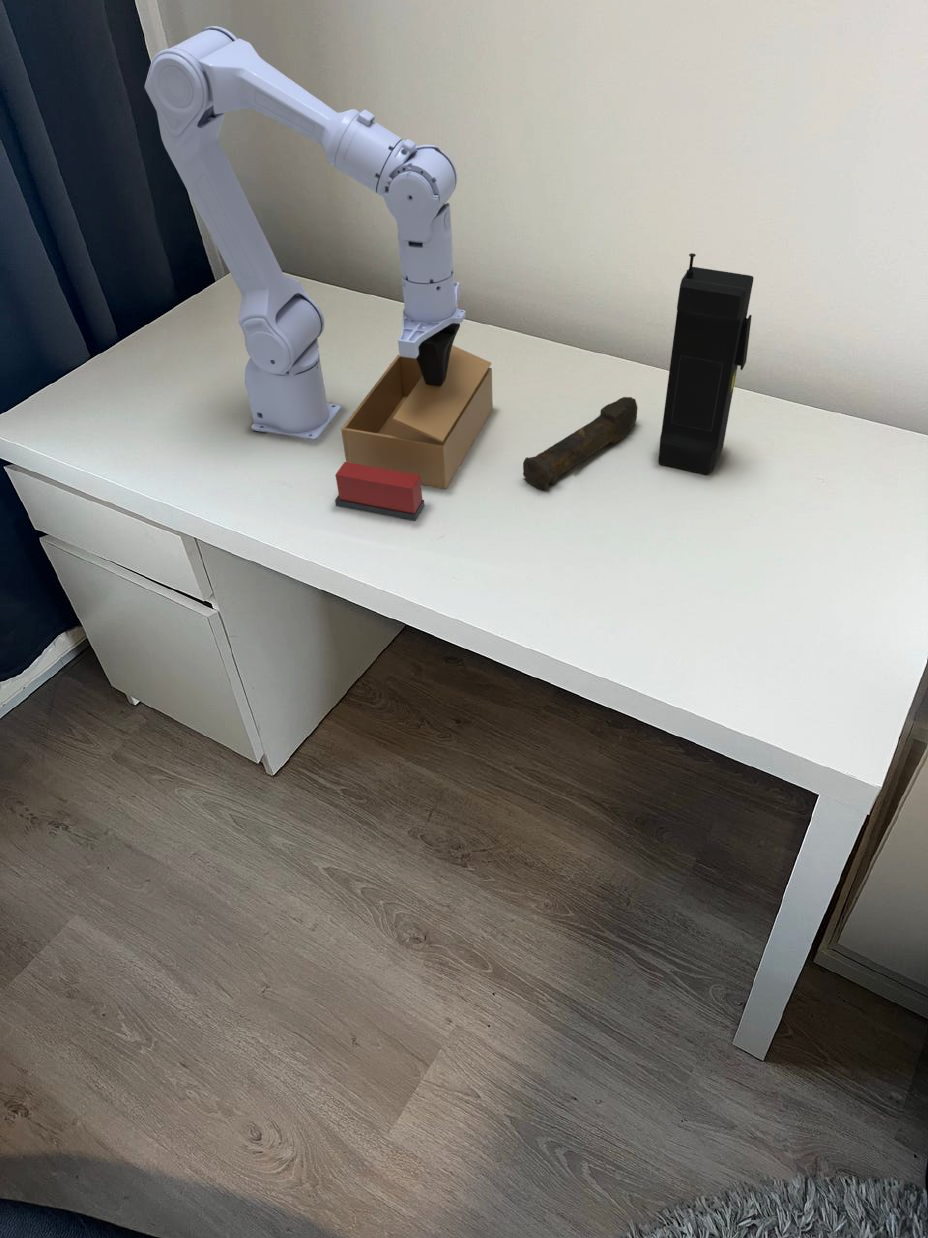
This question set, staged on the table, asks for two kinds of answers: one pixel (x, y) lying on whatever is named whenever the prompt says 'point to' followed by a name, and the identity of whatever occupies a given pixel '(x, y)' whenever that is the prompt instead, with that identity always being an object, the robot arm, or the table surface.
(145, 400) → the table surface
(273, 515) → the table surface
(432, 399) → the flap
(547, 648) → the table surface
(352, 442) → the carton
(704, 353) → the portable radio
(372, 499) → the stapler
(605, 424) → the brown rough bar
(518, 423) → the table surface
